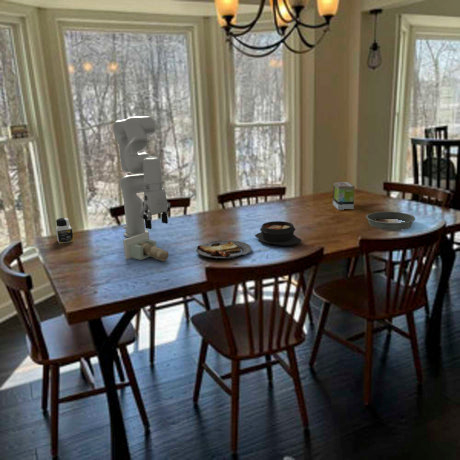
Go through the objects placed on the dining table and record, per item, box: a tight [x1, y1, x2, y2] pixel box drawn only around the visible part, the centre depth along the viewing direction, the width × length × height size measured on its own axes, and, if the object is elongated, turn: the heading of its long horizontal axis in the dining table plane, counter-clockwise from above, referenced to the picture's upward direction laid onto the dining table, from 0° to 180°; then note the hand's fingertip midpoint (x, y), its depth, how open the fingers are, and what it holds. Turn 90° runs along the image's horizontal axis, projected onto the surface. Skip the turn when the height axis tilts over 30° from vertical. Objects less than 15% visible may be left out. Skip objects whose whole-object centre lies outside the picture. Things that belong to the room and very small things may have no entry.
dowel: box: [140, 242, 169, 262], centre depth 200 cm, size 14×5×5 cm, turn 53°
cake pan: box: [365, 211, 416, 231], centre depth 238 cm, size 25×25×4 cm
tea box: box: [332, 181, 356, 211], centre depth 278 cm, size 15×10×15 cm, turn 179°
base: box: [122, 231, 150, 260], centre depth 206 cm, size 2×14×9 cm, turn 143°
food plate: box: [196, 239, 252, 259], centre depth 206 cm, size 25×23×4 cm
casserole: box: [254, 220, 302, 247], centre depth 217 cm, size 25×19×8 cm
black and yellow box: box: [55, 217, 74, 244], centre depth 231 cm, size 7×7×12 cm
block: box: [130, 239, 157, 261], centre depth 204 cm, size 6×10×6 cm, turn 143°
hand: (156, 225), depth 195 cm, fingers open, 9 cm apart
